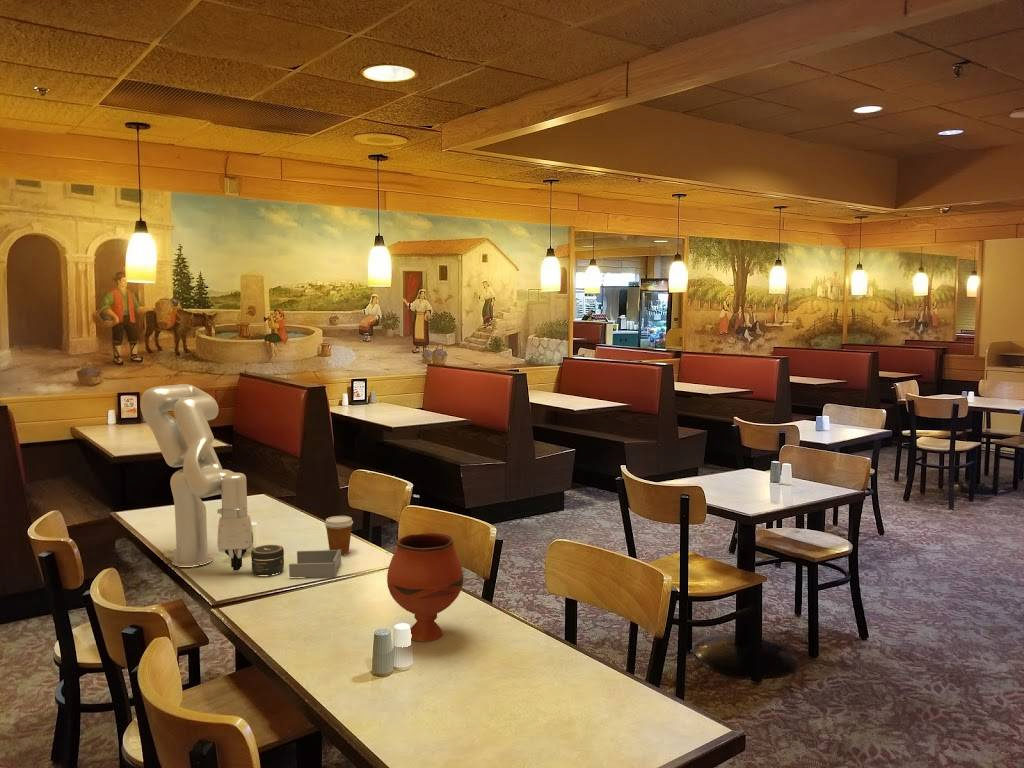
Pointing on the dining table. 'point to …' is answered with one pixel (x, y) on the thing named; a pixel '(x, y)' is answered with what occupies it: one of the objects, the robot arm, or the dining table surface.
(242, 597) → the dining table surface
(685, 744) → the dining table surface
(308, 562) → the bin
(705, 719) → the dining table surface
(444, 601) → the goblet
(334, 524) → the disposable coffee cup
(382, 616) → the dining table surface
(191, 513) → the robot arm
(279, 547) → the jar
